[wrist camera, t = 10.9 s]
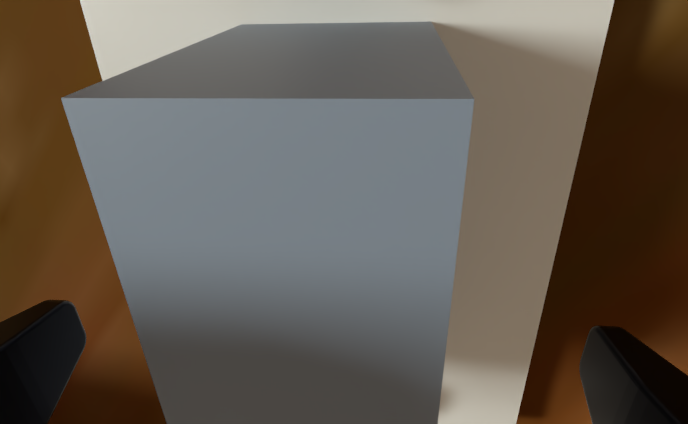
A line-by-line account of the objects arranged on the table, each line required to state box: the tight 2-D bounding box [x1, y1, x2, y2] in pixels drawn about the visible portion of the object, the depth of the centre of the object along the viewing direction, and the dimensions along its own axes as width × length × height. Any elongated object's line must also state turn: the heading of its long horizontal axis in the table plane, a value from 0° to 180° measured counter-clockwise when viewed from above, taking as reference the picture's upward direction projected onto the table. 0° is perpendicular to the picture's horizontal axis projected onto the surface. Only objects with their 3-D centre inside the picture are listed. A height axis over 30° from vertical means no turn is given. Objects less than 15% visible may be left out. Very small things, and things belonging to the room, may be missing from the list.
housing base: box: [80, 0, 614, 424], centre depth 11 cm, size 11×18×4 cm, turn 2°
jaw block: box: [61, 22, 474, 424], centre depth 9 cm, size 4×9×6 cm, turn 2°
